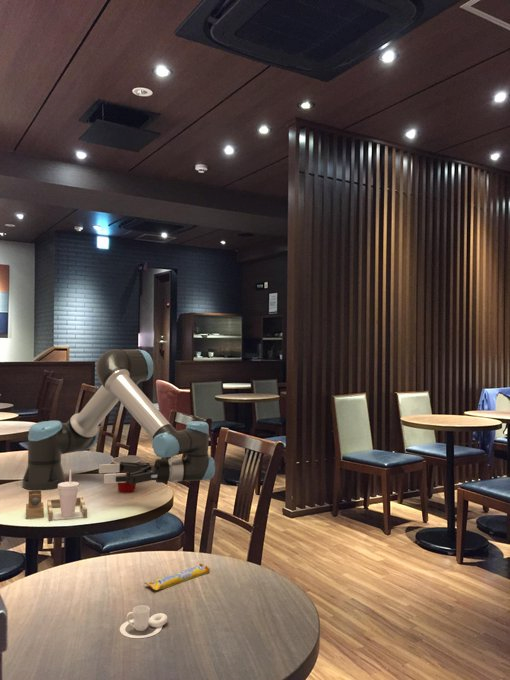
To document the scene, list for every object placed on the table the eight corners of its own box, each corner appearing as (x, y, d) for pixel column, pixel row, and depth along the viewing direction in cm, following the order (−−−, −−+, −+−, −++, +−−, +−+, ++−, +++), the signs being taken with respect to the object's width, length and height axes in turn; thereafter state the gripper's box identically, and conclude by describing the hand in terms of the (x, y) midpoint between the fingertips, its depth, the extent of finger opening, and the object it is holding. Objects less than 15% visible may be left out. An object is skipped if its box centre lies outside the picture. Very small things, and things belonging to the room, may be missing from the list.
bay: (47, 507, 187) (47, 499, 187) (82, 504, 191) (82, 497, 191) (49, 521, 173) (49, 512, 173) (87, 517, 177) (87, 509, 177)
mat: (52, 514, 179) (52, 513, 179) (80, 512, 182) (80, 511, 182) (53, 520, 174) (53, 519, 174) (82, 517, 177) (82, 516, 177)
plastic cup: (104, 492, 207) (105, 459, 207) (122, 486, 217) (123, 454, 217) (130, 496, 203) (131, 462, 203) (147, 489, 213) (147, 456, 213)
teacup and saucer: (168, 620, 114) (169, 599, 114) (163, 641, 106) (164, 618, 106) (124, 620, 113) (124, 599, 113) (115, 640, 105) (116, 618, 105)
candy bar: (201, 569, 140) (201, 561, 140) (212, 574, 137) (212, 566, 137) (142, 589, 128) (143, 580, 128) (154, 595, 125) (154, 586, 125)
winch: (25, 513, 181) (26, 490, 181) (42, 511, 182) (43, 489, 182) (25, 519, 175) (26, 495, 175) (43, 517, 176) (44, 494, 176)
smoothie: (71, 519, 174) (73, 472, 175) (52, 517, 176) (53, 471, 176) (82, 513, 181) (83, 468, 181) (63, 511, 182) (64, 467, 182)
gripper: (176, 491, 178) (106, 496, 170) (159, 473, 201) (96, 476, 193) (177, 467, 178) (107, 470, 170) (160, 451, 201) (97, 454, 193)
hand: (101, 473), depth 182 cm, fingers open, 13 cm apart
